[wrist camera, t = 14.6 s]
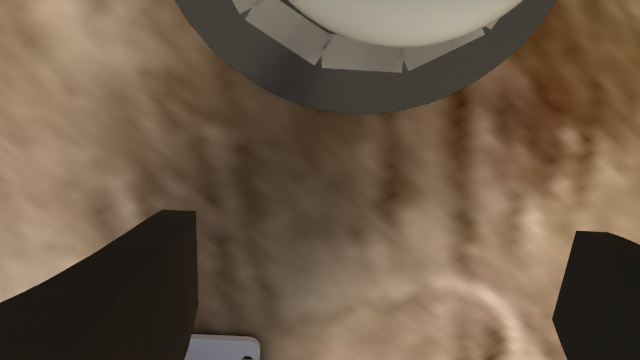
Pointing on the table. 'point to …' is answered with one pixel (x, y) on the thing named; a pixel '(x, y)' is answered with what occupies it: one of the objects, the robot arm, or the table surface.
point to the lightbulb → (404, 19)
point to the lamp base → (351, 55)
